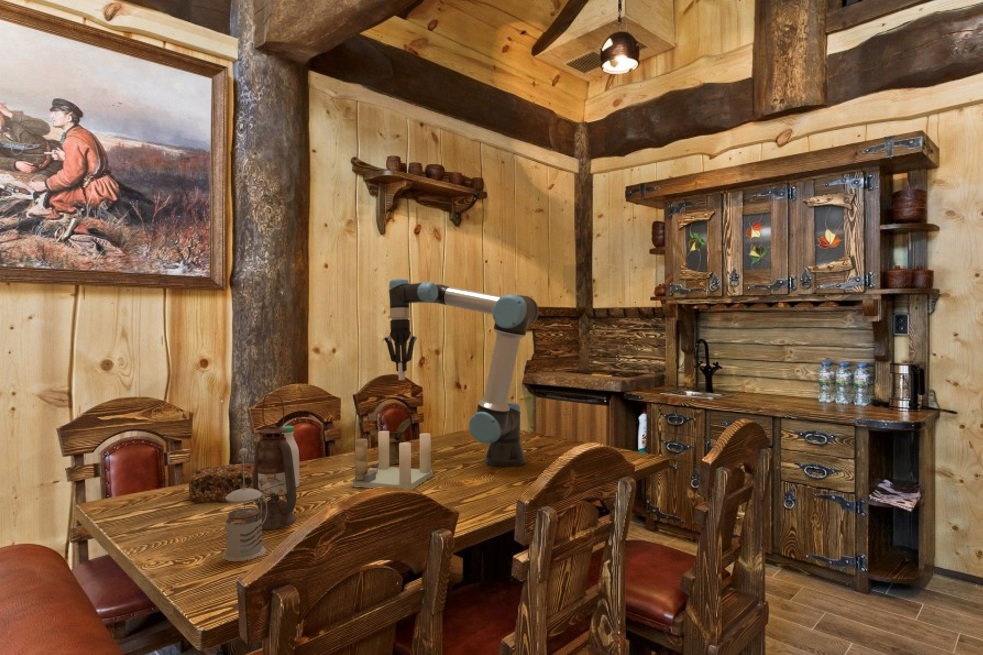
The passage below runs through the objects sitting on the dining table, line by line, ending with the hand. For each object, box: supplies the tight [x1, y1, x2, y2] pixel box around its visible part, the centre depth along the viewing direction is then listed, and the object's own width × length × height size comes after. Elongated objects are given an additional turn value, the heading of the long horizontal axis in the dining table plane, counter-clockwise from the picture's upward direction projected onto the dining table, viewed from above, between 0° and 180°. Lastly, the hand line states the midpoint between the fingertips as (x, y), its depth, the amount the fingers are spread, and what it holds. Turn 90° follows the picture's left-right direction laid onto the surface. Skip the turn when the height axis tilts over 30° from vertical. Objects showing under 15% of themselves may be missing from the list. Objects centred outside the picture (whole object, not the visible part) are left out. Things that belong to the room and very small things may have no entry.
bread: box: [188, 462, 254, 503], centre depth 184 cm, size 19×11×10 cm, turn 96°
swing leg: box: [354, 438, 379, 480], centre depth 199 cm, size 12×4×13 cm, turn 163°
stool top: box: [350, 430, 434, 491], centre depth 200 cm, size 21×21×15 cm
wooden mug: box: [389, 417, 411, 466], centre depth 226 cm, size 9×14×18 cm, turn 58°
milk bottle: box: [274, 425, 300, 491], centre depth 194 cm, size 8×8×20 cm
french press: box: [222, 447, 267, 562], centre depth 140 cm, size 10×12×25 cm
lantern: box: [253, 393, 297, 530], centre depth 160 cm, size 11×16×35 cm
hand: (401, 379), depth 229 cm, fingers closed
